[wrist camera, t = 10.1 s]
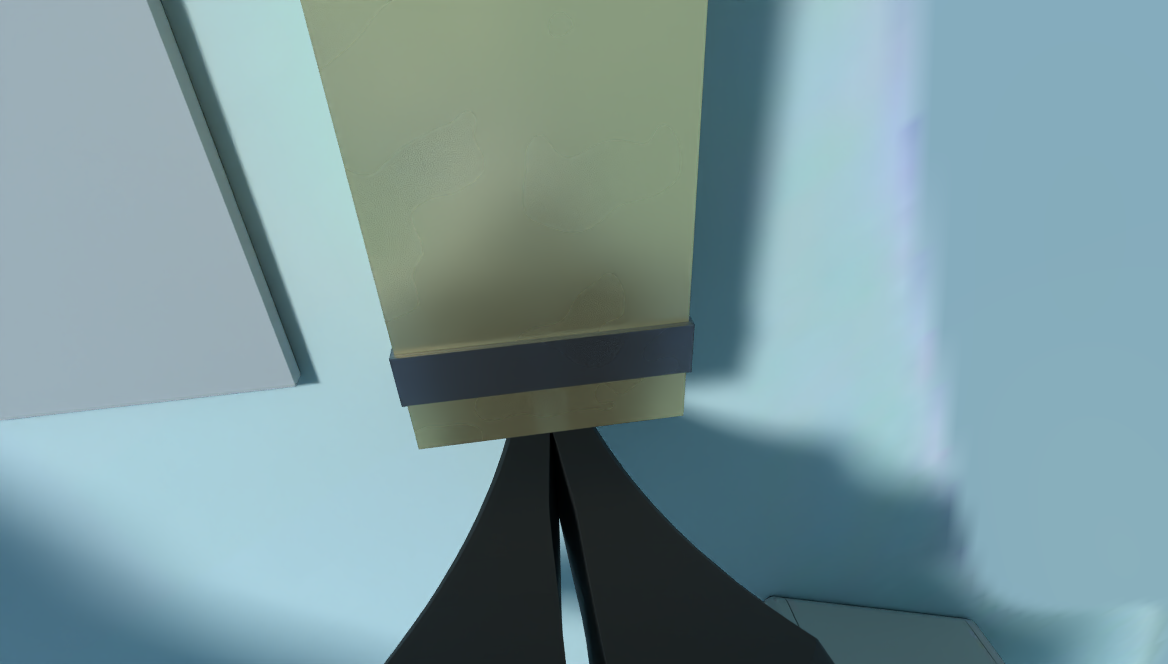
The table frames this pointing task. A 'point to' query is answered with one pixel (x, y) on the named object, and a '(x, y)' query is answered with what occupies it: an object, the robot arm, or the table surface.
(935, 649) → the digital clock
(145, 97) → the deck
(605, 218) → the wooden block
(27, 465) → the table surface
